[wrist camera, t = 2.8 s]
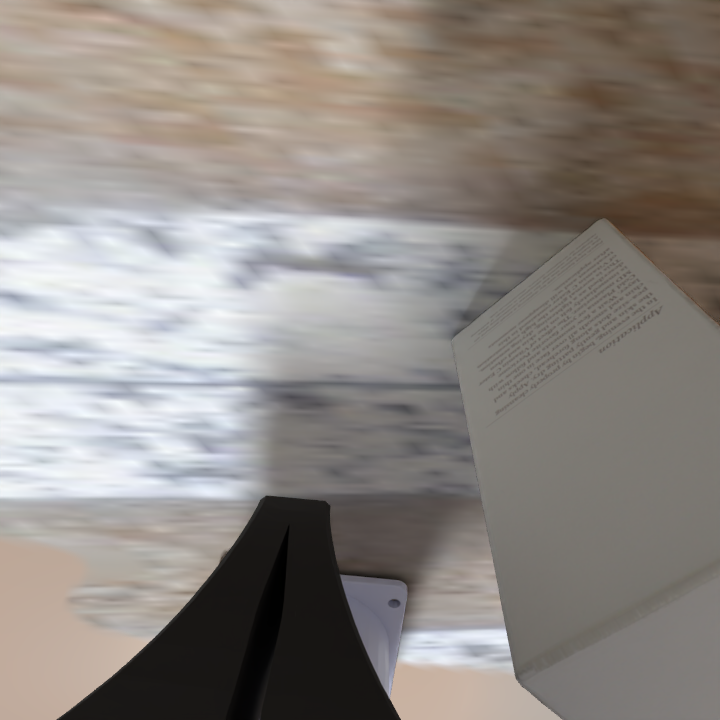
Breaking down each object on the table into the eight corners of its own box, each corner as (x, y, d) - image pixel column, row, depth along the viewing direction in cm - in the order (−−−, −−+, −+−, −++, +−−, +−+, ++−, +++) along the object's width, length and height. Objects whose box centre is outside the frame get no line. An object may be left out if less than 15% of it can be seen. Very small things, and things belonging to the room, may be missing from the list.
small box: (742, 376, 22) (1115, 765, 11) (586, 477, 25) (759, 886, 13) (603, 206, 20) (898, 478, 8) (444, 336, 22) (502, 691, 11)
